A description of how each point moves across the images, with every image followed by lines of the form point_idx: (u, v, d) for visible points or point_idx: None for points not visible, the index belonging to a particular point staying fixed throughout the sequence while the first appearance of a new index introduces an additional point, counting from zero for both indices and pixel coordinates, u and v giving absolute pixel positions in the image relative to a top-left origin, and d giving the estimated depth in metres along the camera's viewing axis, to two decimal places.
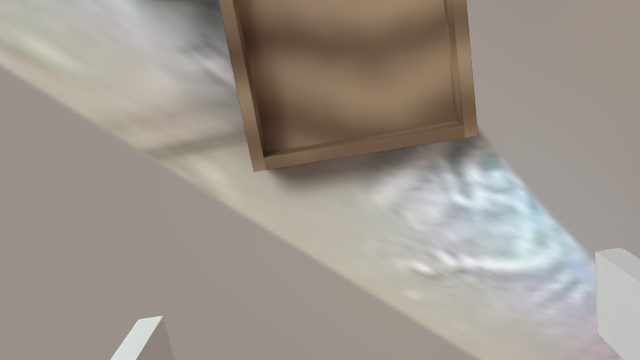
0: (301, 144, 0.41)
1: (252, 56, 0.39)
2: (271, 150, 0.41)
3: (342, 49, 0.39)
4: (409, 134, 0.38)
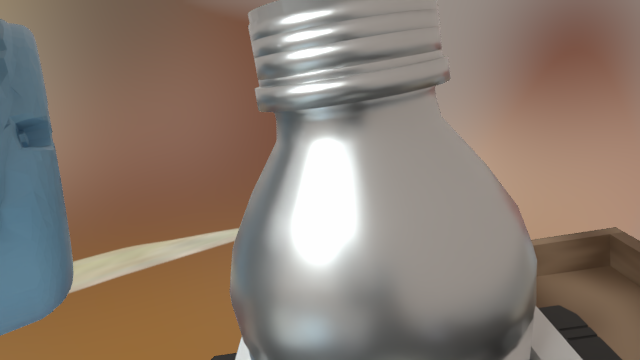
0: None
1: None
2: None
3: None
4: None
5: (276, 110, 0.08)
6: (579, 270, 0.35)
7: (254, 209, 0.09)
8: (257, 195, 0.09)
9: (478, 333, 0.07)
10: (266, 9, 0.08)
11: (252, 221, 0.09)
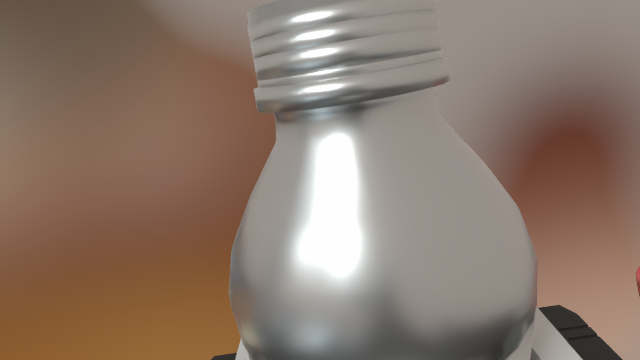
0: None
1: None
2: None
3: None
4: None
5: (275, 111, 0.08)
6: None
7: (253, 210, 0.09)
8: (256, 196, 0.09)
9: (478, 335, 0.07)
10: (264, 9, 0.08)
11: (251, 222, 0.09)
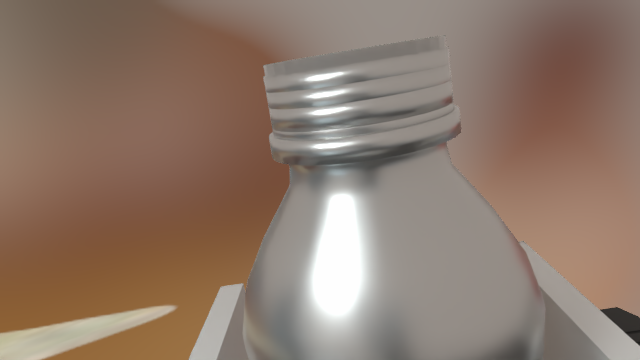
0: None
1: None
2: None
3: None
4: None
5: (291, 163, 0.08)
6: None
7: (268, 256, 0.09)
8: (271, 242, 0.09)
9: None
10: (282, 66, 0.08)
11: (266, 268, 0.09)
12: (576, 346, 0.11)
